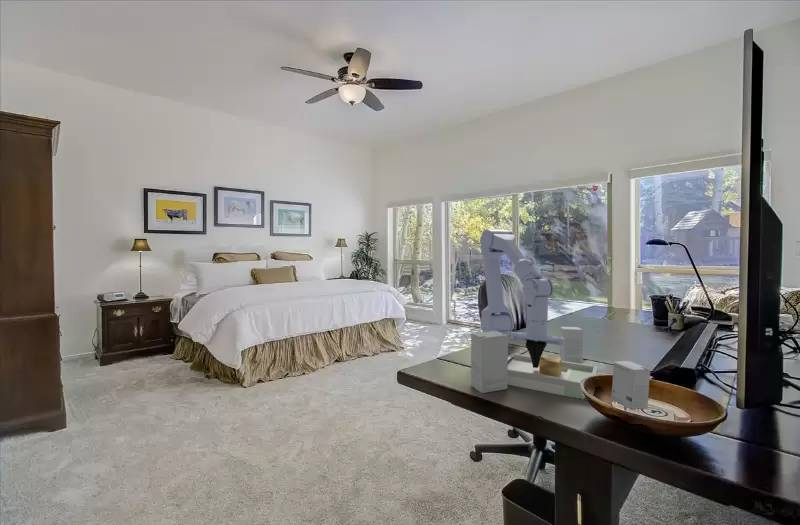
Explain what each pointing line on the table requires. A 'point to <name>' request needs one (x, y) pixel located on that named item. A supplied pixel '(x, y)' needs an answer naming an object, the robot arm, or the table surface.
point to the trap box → (565, 384)
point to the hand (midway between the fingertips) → (535, 366)
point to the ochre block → (550, 366)
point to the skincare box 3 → (630, 385)
